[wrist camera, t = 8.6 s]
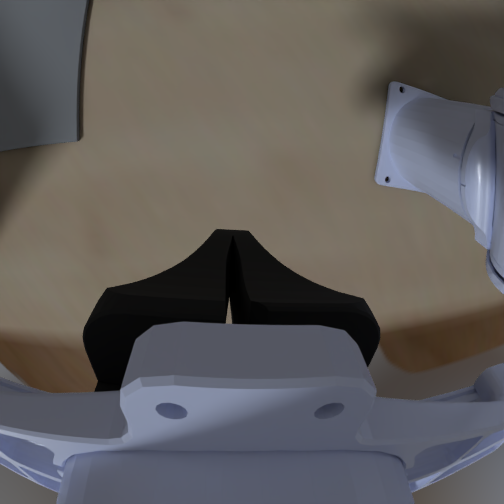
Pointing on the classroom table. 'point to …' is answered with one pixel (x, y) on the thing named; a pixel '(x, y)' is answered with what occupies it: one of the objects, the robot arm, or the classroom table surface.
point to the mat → (40, 71)
